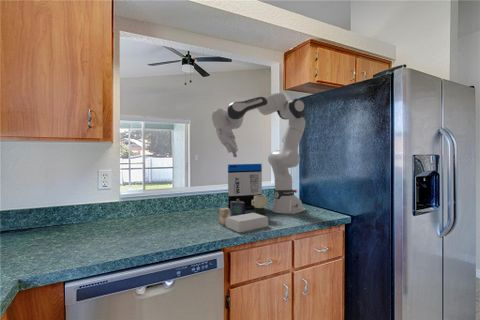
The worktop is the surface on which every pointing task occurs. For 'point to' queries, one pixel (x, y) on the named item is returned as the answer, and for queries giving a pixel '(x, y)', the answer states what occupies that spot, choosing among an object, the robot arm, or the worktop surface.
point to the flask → (237, 208)
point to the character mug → (260, 204)
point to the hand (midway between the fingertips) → (232, 154)
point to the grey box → (246, 222)
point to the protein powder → (244, 183)
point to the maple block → (223, 215)
